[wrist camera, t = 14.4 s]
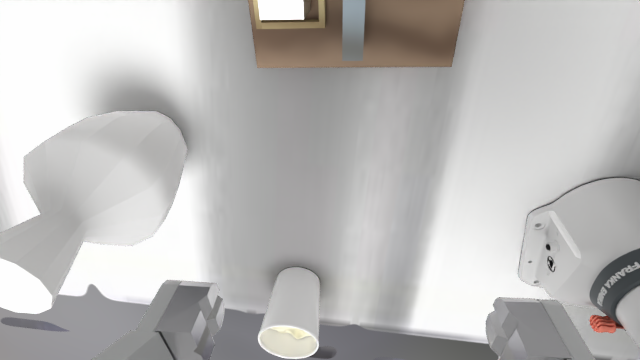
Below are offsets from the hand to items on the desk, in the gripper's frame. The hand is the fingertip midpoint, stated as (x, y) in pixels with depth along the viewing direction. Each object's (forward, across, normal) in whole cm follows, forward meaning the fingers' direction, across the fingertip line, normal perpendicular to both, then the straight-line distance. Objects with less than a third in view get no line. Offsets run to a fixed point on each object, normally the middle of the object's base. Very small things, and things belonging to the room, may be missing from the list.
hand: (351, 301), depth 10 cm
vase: (+33, +27, +12) cm, 45 cm away
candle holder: (+33, +9, +42) cm, 54 cm away
